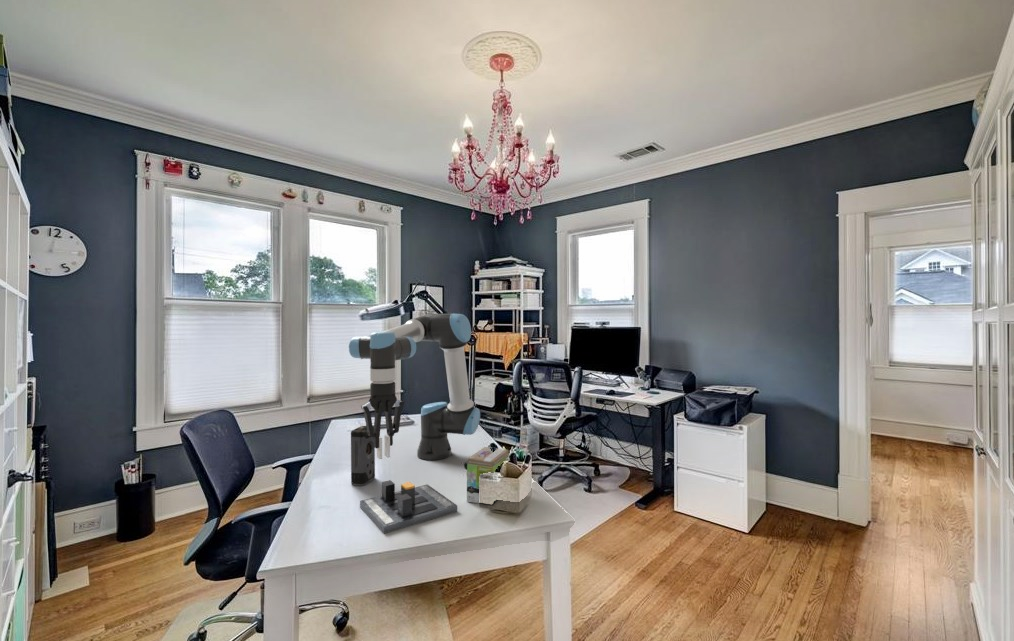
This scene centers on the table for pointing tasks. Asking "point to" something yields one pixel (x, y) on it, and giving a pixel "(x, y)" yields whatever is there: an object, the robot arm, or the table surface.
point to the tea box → (482, 469)
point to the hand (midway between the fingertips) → (383, 457)
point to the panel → (409, 519)
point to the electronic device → (362, 457)
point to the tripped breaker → (408, 490)
